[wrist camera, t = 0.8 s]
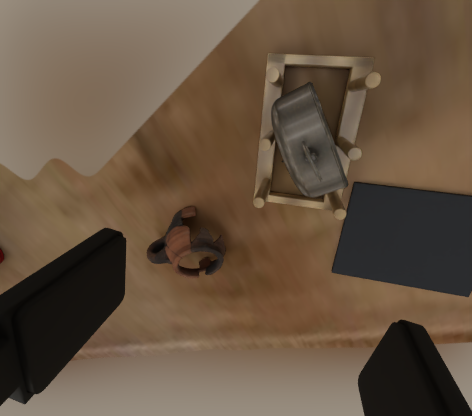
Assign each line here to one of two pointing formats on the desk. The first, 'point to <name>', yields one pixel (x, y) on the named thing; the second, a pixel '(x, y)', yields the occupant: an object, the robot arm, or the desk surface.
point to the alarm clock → (307, 142)
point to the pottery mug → (186, 247)
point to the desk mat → (407, 238)
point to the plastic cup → (1, 256)
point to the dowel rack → (346, 130)
